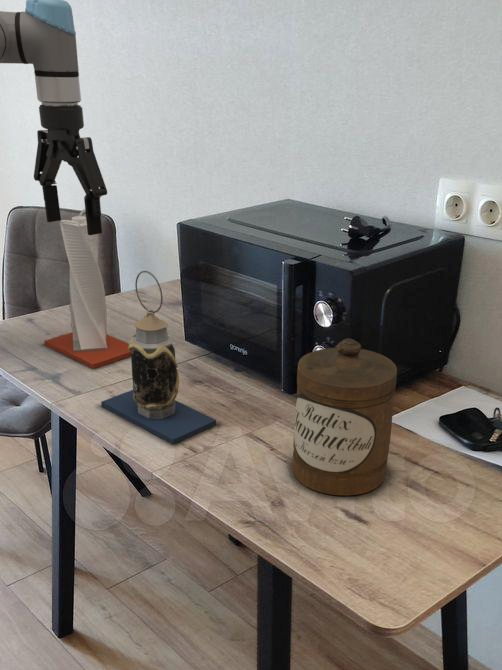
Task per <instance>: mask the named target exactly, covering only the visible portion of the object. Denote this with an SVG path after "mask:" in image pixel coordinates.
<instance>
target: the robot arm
mask: <svg viewBox="0 0 502 670" xmlns="http://www.w3.org/2000/svg"><path fill="white" fill-rule="evenodd" d="M24 10H25V11H5V10H4V11H2V10H0V64H24V65H32V66H33V70H34V72H33V73H34V80H35V81H34V82H35V90H36V97H37V101H38V102H39V103H40V102H41V104H39V106H38V111H39V120H40V126H41V128H43V129H39V130H37V133H36V134H37V135H36V137H37V147H36V155H35V161H34V162H35V163H34V171H33V179H34V181H36V182H39V185H40V186H41V187H42V188H41V189H42V195H43V201H44V207H45V215H46V222H47V223H52V222H58V221H61V220H62V216H61V208H60V201H59V193H58V185H57V184H58V183H57V181H56V178H57V175H58V172H59V170H60V167H61V165H62V162H65V163H67V165H68V166H70V167H71V168H72V169H73V172H74V173H75V176H76V177H77V180H78V182H79V184H80V185H81V187H82V189H83V191H84V193H85V195H84V198H83V201H84V209H85V212H84V213H85V217H86V221H87V231H88V235H95V234H99V235H100V234H103V227H102V217H101V216H102V207H101V198H102V197H103V196H106V195H108V189H107V187H106V183H105V180H104V178H103V177H104V176H103V175H102V171H101V169H100V165H99V163H98V160H97V157H96V154H95V152H94V151H95V150H94V146H93V145H94V144H93V140H92V137H91V136H87V137H86V136H85V137H81V135H80V131H81V129H83V128H84V126H85V122H84V112H83V107H82V106H81V104H79V103H80V102H81V101H82V95H81V84H80V83H81V82H80V72H79V71H80V69H79V60H78V46H77V32H76V29H75V24H74V23H75V22H74V15H73V9H72V6H71V4H70V3H69V1H67V0H25V9H24Z"/></svg>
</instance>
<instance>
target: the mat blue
mask: <svg viewBox="0 0 502 670" xmlns="http://www.w3.org/2000/svg"><path fill="white" fill-rule="evenodd" d="M133 394H134V393H133V389H131V390H129V391H126V392H123V393H120V394H118V395H116V396H112V397H110V398H107V399H105V400H101V402H100V404H101V407H102V408H104V409H106V410H108V411H109V412H111V413H113V414H115V415H117V416H119V417H120V418H122V419H124V420H127V421H128V422H130V423H132V424H134V425H136V426H138V427H139V428H141V429H143V430H145V431H147V432H149V433H151V434H152V435H154V436H156V437H158V438H159V439H162V440H164V441H165V442H168V443H170V444H171V445H176V444H178V443H180V442H182V441H184V440H187V439H189V438H191V437H193V436H195V435H197V434H199V433H202V432H204V431H206V430H208V429H210V428H212V427H215V426H217V419H215V418H213V417H211V416H210V415H209V416H208V415H207V414H204V412H203V413H202V412H200V411H198V410H197V409H194V408H192V407H190V406H188V405H186V404H183V403H181V402H180V401H177V400H176V399H175V403H176V409H175V413H174V414H172V415H170V416H167V417H165V418H163V419H149V418H147V417H145V416H143V415H141V414H139V413H138V405H137V403H136V402H135V400H134V398H133Z"/></svg>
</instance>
